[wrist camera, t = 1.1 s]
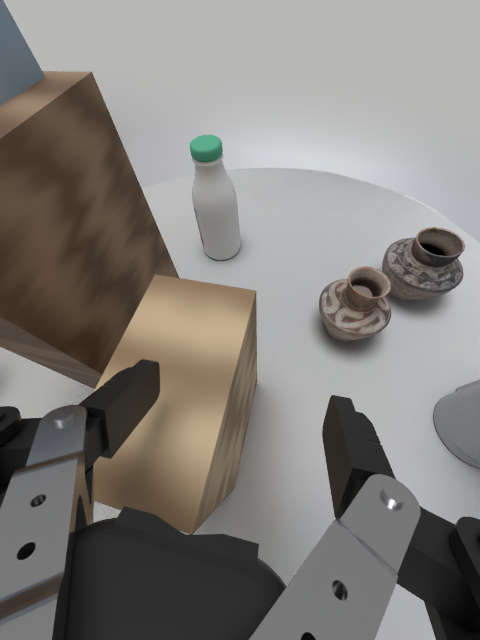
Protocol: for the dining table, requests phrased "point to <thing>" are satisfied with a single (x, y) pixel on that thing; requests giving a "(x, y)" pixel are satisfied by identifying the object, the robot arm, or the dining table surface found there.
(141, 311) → the lower block
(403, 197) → the dining table surface
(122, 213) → the tall stand
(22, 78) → the rod
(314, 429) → the dining table surface
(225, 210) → the milk bottle
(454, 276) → the pottery
